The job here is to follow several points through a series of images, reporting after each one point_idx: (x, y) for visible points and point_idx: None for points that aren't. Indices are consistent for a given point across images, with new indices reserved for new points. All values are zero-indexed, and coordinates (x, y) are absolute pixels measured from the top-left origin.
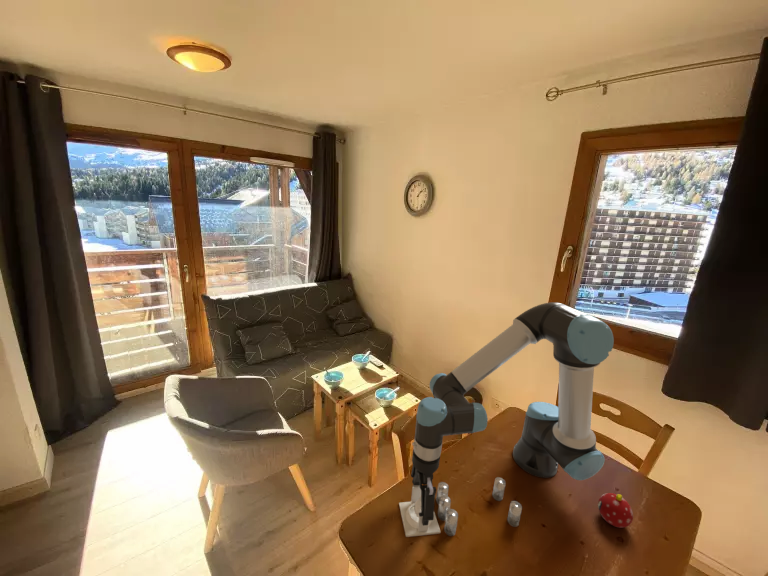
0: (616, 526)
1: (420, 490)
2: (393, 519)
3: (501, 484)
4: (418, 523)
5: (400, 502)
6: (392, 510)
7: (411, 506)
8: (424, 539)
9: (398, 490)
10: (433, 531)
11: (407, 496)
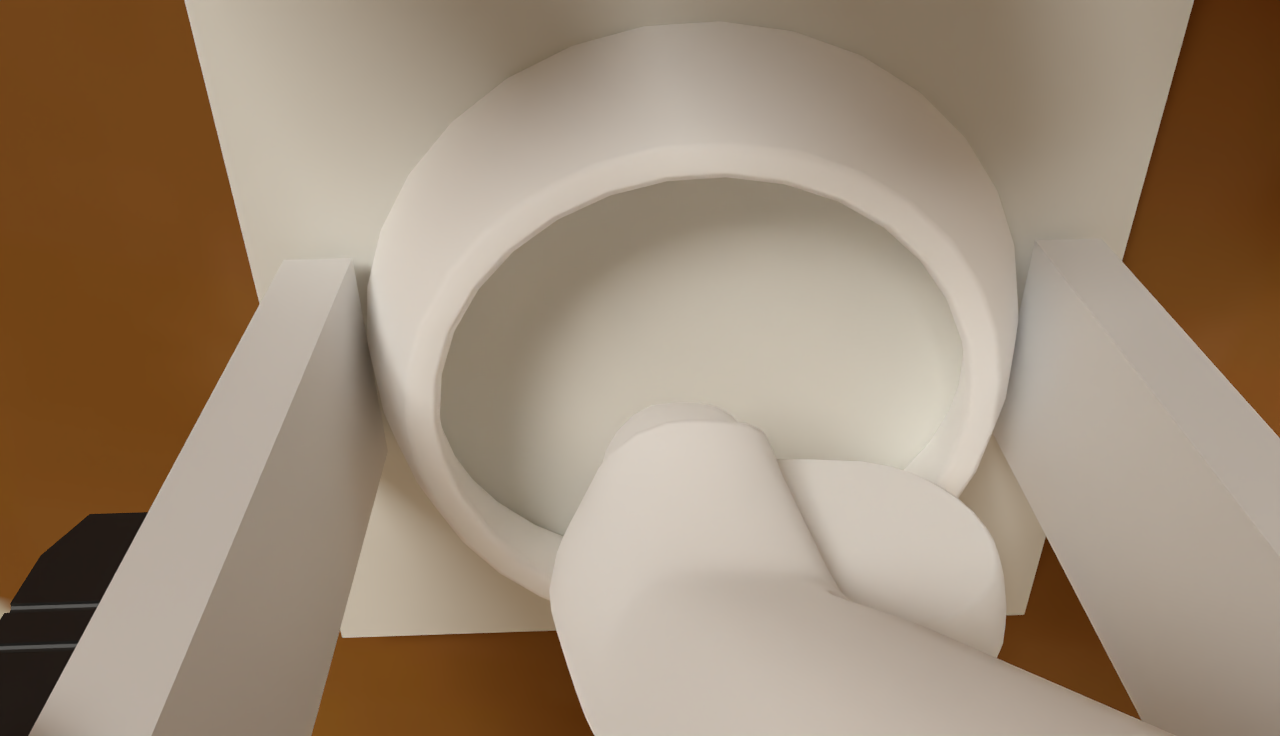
0: None
1: (219, 643)
2: None
3: None
4: (1055, 550)
5: None
6: (486, 702)
7: (511, 539)
8: (1173, 296)
9: (11, 575)
10: (1143, 82)
11: (132, 437)
